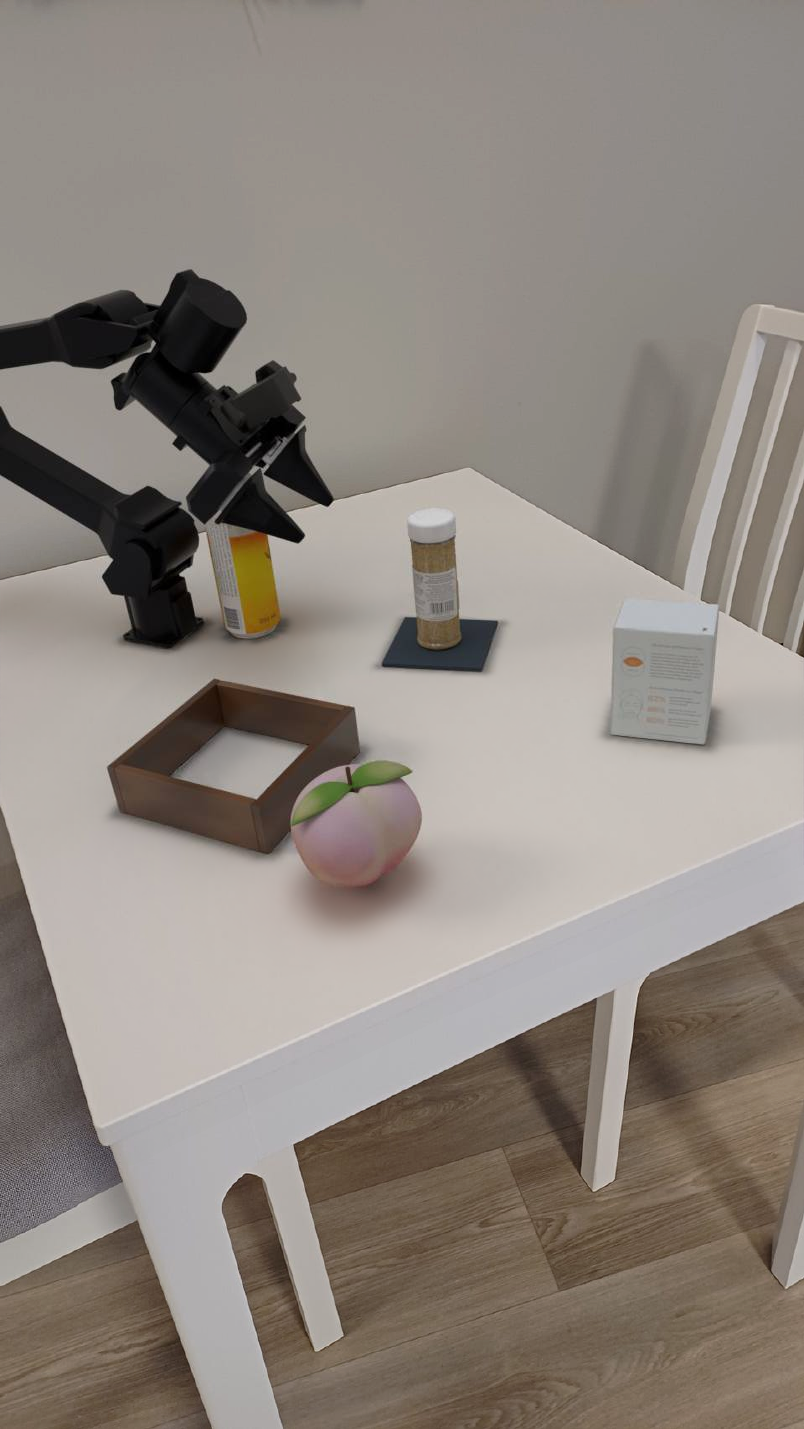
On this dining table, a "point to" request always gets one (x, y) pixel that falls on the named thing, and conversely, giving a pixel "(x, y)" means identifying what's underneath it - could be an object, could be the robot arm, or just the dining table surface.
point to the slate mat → (458, 657)
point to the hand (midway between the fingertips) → (317, 521)
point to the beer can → (243, 579)
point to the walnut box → (220, 812)
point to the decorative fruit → (356, 822)
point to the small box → (663, 669)
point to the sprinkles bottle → (435, 577)
